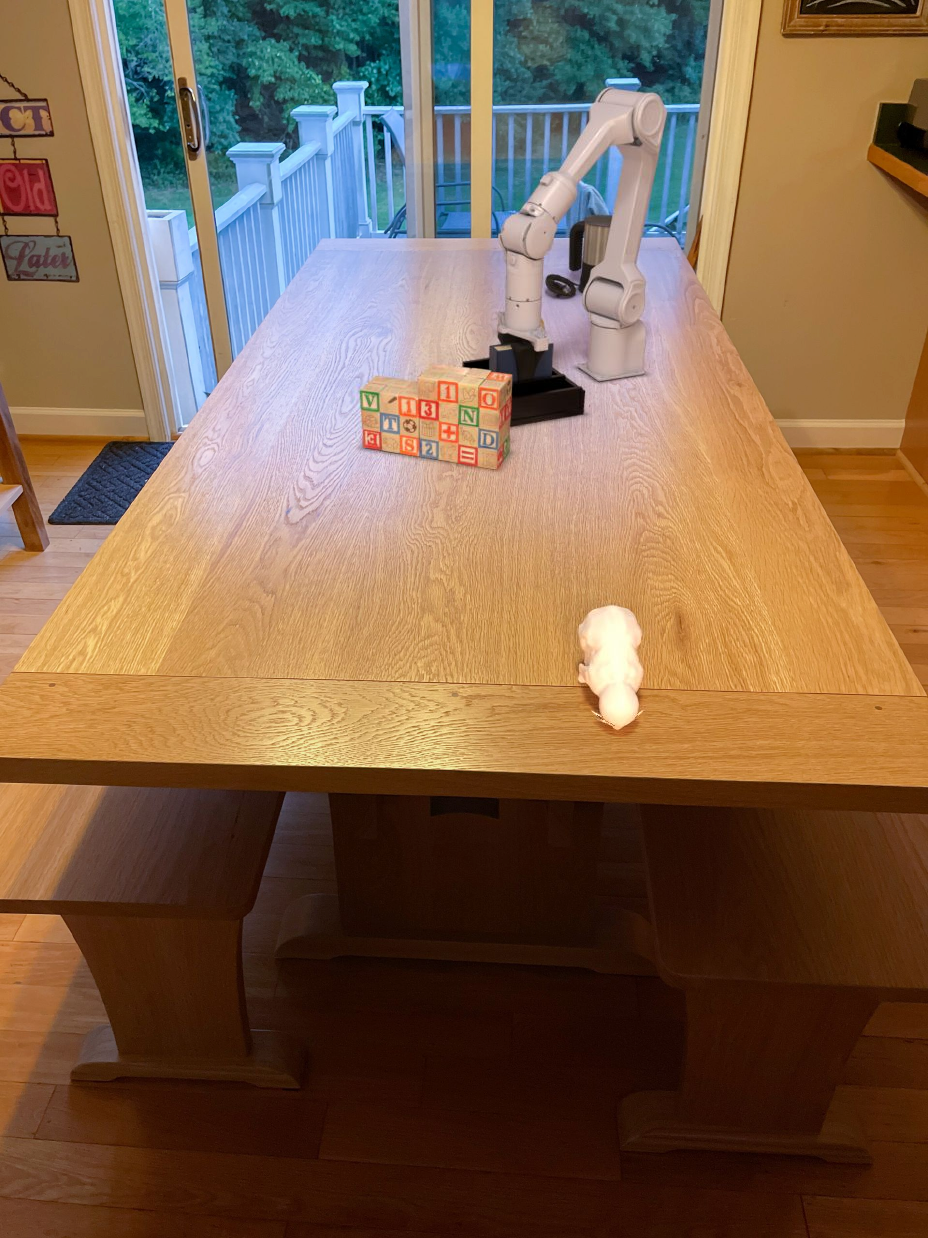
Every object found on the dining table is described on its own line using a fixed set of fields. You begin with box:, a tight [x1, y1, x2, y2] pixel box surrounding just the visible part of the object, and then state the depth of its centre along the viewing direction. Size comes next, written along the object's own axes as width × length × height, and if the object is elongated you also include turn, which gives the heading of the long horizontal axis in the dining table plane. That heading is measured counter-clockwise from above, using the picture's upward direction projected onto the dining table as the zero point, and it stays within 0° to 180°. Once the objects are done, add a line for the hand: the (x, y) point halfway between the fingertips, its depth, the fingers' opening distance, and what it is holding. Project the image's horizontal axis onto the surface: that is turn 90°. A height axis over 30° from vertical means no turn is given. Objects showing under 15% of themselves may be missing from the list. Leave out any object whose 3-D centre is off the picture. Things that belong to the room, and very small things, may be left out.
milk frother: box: [544, 214, 617, 298], centre depth 206 cm, size 14×16×15 cm
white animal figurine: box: [577, 604, 645, 731], centre depth 94 cm, size 6×8×12 cm
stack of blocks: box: [359, 363, 512, 470], centre depth 141 cm, size 21×6×12 cm, turn 71°
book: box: [488, 341, 554, 382], centre depth 157 cm, size 10×3×8 cm, turn 113°
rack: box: [461, 357, 586, 428], centre depth 159 cm, size 14×19×4 cm
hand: (520, 380), depth 159 cm, fingers closed on book, 3 cm apart
